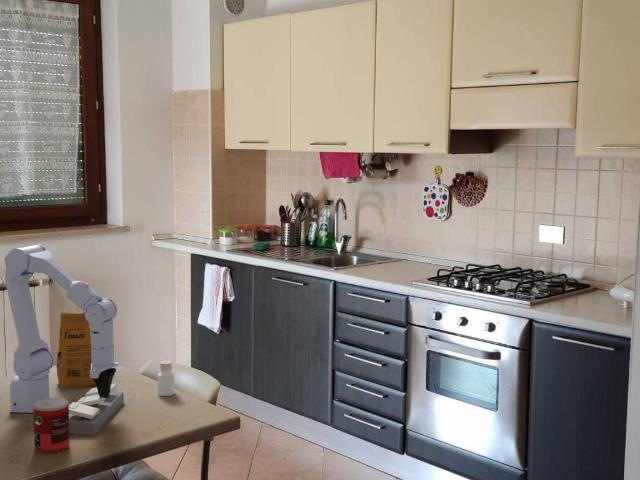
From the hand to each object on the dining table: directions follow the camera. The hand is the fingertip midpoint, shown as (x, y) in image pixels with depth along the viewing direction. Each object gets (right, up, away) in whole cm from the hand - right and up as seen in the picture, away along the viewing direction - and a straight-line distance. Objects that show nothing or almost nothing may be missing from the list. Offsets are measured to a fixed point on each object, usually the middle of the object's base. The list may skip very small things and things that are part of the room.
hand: (104, 397), depth 207 cm
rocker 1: (-3, -2, 0) cm, 4 cm away
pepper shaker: (+12, -3, +20) cm, 24 cm away
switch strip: (-3, -5, +3) cm, 7 cm away
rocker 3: (-3, -1, +8) cm, 9 cm away
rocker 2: (-4, -3, -8) cm, 9 cm away
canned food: (-7, -8, -20) cm, 22 cm away
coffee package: (-15, -2, +28) cm, 32 cm away
